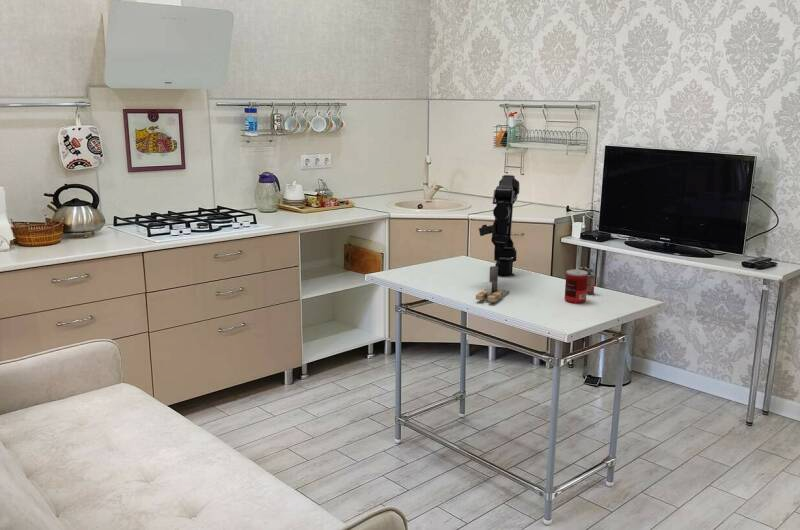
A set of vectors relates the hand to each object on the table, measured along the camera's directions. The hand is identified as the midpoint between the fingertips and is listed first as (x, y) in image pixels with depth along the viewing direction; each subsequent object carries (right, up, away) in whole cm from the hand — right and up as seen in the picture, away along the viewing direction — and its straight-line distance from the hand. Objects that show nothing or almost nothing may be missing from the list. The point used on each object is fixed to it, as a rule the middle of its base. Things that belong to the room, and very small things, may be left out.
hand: (496, 259), depth 276 cm
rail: (-2, -14, -12) cm, 19 cm away
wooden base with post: (-5, -14, -17) cm, 22 cm away
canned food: (+27, -16, -15) cm, 35 cm away
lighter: (+33, -13, -5) cm, 36 cm away
